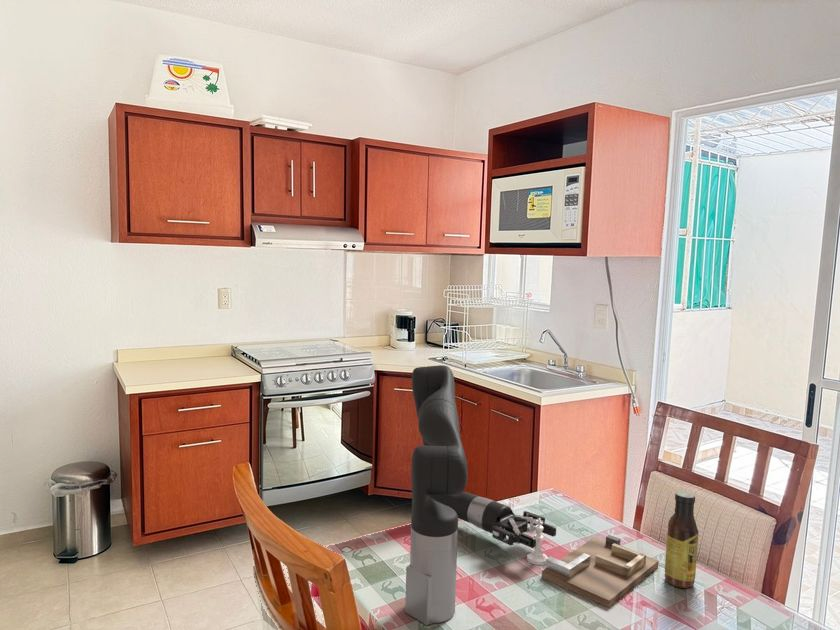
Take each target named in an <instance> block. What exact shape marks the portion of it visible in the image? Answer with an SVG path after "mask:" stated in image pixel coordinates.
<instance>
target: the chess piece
mask: <svg viewBox="0 0 840 630" xmlns="http://www.w3.org/2000/svg"><path fill="white" fill-rule="evenodd" d="M536 523H538V525H536V526H534V527H535V530H536V531H535V533H536V534H534V536H533V538H535V539H536V547H534V550H533V551H532V552H529V553H528V554H527V556H526V560H527V561H528V562H529V563H530V564H532V565H535V566H543V565H545V566H546V559H547V558H549V557H548V556H547V554H545V553H543V552H542V541H541V540H543V539H544V535H542V531H543V528H544V527H543V526H541V525H542V524H543V522H541V519H540V518H539V519H537V520H536Z"/></svg>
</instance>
